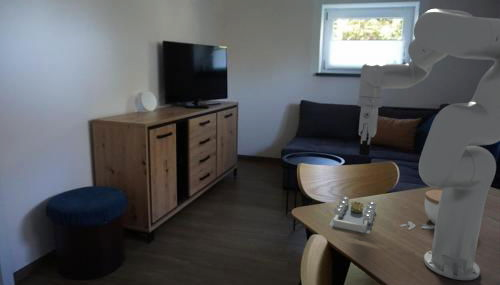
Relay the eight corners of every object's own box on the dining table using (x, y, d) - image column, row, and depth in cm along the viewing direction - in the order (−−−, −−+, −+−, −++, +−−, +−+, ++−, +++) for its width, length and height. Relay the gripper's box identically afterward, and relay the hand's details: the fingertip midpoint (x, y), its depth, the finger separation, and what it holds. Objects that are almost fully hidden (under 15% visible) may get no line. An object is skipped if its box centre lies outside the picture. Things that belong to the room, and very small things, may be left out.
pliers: (443, 221, 117) (419, 233, 108) (442, 226, 117) (419, 238, 108) (414, 211, 124) (389, 222, 115) (413, 215, 125) (389, 226, 116)
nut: (361, 215, 120) (362, 206, 120) (349, 212, 122) (350, 203, 121) (363, 210, 124) (364, 202, 123) (351, 208, 126) (352, 200, 125)
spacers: (370, 226, 112) (371, 217, 112) (333, 218, 117) (334, 210, 116) (375, 210, 124) (376, 202, 124) (341, 204, 129) (342, 196, 128)
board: (368, 236, 107) (369, 227, 107) (328, 228, 112) (329, 219, 112) (376, 212, 125) (377, 204, 125) (341, 206, 130) (342, 198, 129)
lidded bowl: (471, 233, 111) (477, 199, 109) (427, 229, 114) (432, 195, 111) (456, 217, 124) (461, 186, 121) (417, 213, 126) (421, 182, 123)
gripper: (379, 105, 113) (373, 161, 117) (383, 100, 126) (377, 151, 130) (354, 103, 116) (349, 158, 120) (361, 98, 129) (356, 148, 133)
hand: (364, 154), depth 125 cm, fingers closed
